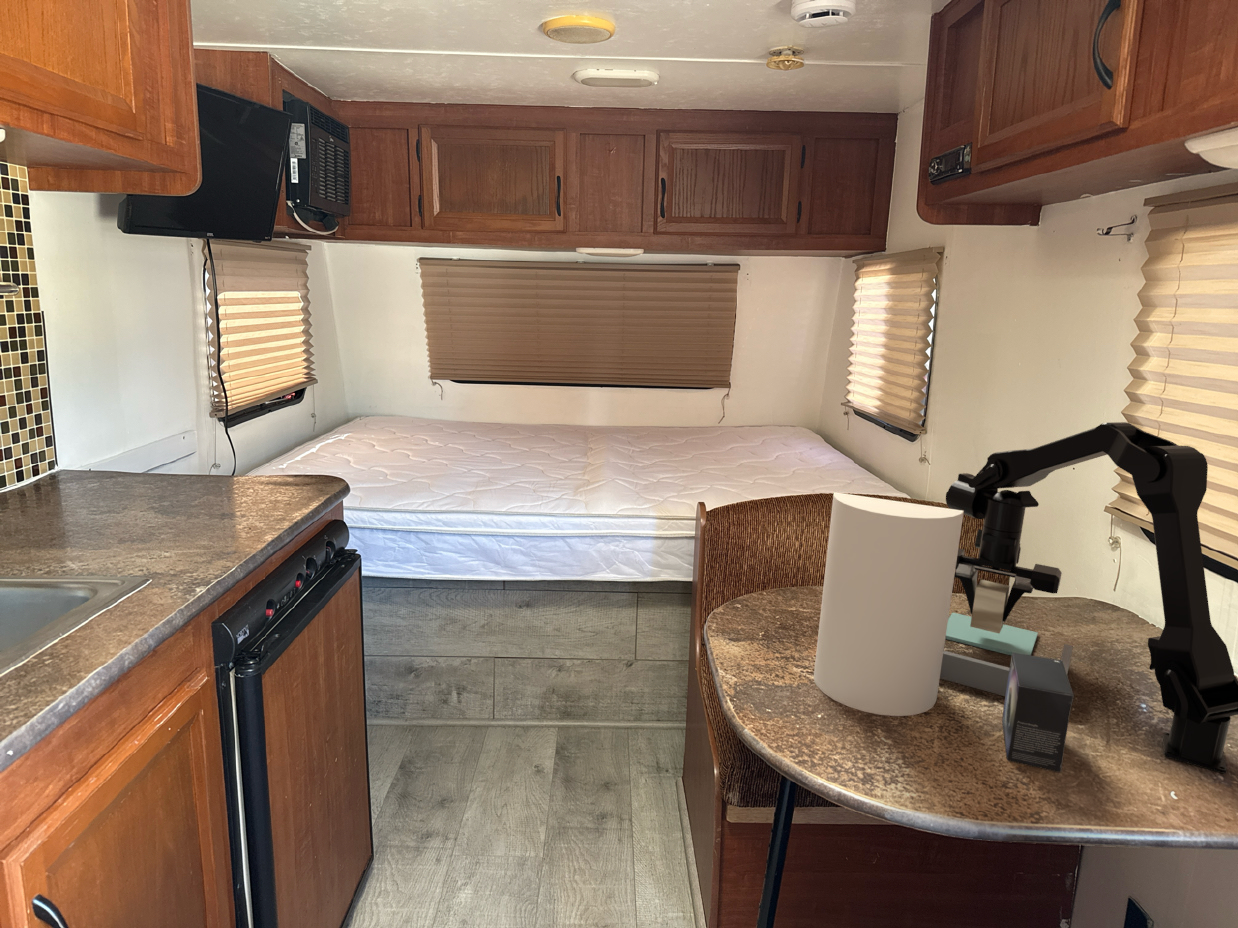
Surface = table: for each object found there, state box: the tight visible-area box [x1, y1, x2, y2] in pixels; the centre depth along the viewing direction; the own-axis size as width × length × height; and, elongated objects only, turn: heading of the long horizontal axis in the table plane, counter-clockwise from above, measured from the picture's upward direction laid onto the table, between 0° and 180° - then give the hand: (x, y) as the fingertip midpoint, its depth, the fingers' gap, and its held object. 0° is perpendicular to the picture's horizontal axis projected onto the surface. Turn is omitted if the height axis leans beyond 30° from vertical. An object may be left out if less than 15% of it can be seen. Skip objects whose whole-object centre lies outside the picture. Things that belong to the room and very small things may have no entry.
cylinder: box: [813, 491, 964, 717], centre depth 115 cm, size 17×17×28 cm
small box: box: [1001, 653, 1075, 773], centre depth 103 cm, size 11×6×10 cm, turn 159°
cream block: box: [970, 579, 1011, 634], centre depth 134 cm, size 4×4×7 cm
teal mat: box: [945, 611, 1039, 657], centre depth 138 cm, size 12×14×1 cm
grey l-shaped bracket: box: [940, 643, 1074, 697], centre depth 126 cm, size 16×25×4 cm, turn 57°
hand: (988, 617), depth 134 cm, fingers closed on cream block, 4 cm apart
